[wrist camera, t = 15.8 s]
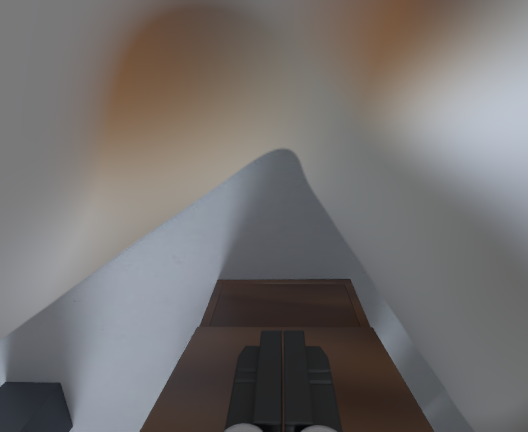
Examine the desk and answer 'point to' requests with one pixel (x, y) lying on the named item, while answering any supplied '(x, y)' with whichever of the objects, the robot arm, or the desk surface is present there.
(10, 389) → the block
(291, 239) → the desk surface
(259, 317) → the chest
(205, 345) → the lid
